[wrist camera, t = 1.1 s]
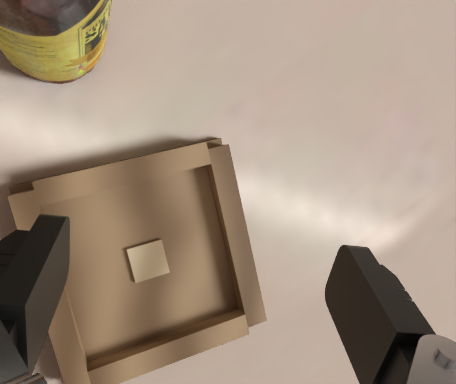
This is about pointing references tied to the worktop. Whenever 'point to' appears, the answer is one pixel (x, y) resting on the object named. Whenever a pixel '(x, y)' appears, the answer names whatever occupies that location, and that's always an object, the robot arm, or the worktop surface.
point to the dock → (147, 261)
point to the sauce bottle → (54, 36)
